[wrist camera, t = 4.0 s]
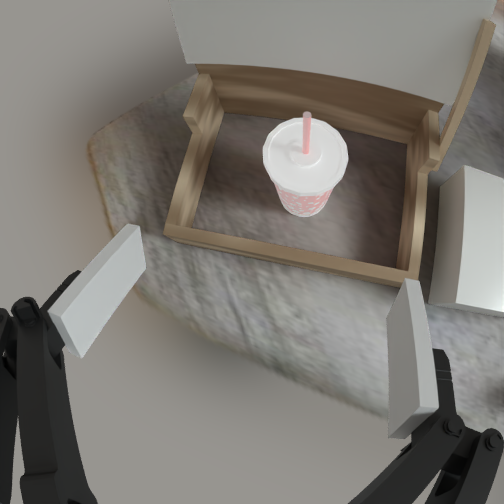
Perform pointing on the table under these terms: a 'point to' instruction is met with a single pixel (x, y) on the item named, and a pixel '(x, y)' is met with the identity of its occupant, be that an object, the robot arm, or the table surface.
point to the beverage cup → (305, 163)
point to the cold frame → (324, 109)
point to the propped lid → (350, 42)
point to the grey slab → (470, 244)
